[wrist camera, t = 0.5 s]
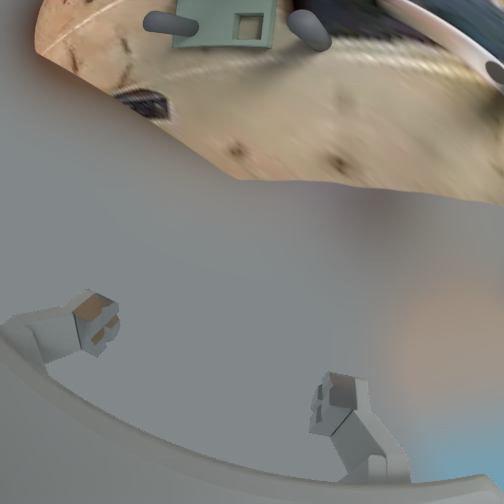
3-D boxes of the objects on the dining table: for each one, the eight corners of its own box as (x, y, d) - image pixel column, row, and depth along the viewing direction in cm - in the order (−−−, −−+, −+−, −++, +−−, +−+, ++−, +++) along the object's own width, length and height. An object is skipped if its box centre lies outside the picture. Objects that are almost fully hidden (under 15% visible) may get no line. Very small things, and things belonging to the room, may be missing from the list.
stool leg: (307, 32, 38) (284, 12, 27) (329, 30, 36) (315, 8, 25) (310, 52, 40) (289, 37, 29) (333, 50, 38) (320, 34, 27)
